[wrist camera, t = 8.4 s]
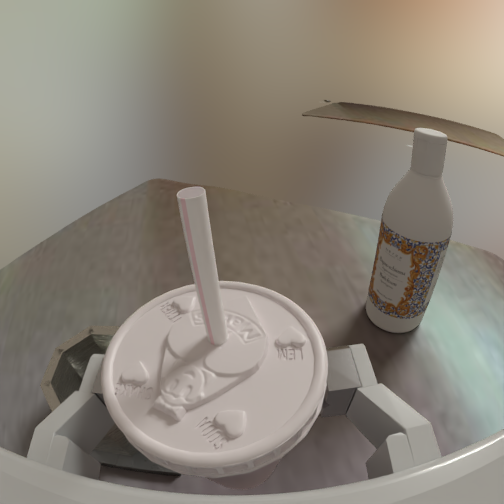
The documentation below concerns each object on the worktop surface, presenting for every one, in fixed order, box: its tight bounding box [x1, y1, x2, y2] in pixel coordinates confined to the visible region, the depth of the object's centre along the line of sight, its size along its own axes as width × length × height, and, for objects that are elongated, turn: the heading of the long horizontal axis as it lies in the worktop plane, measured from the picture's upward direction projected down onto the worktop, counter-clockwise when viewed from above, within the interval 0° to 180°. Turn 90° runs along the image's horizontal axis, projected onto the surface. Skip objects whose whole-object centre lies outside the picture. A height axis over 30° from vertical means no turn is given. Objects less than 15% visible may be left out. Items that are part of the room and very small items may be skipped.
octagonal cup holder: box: [40, 326, 181, 476], centre depth 22 cm, size 12×12×6 cm
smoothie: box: [101, 187, 328, 490], centre depth 9 cm, size 6×6×14 cm
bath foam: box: [366, 128, 453, 333], centre depth 26 cm, size 7×7×20 cm
